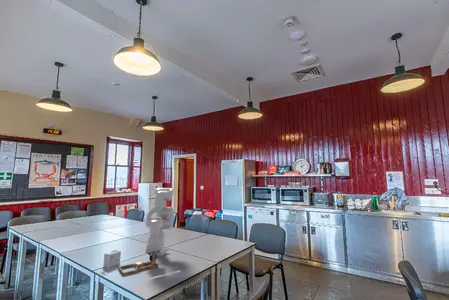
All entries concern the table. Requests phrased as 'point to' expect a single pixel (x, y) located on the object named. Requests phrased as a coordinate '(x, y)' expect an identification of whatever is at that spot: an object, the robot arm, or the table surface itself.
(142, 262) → the dark gray cube
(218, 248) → the table surface
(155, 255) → the gray orange block
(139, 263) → the tan yellow cube
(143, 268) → the slot board
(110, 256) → the light bulb box
